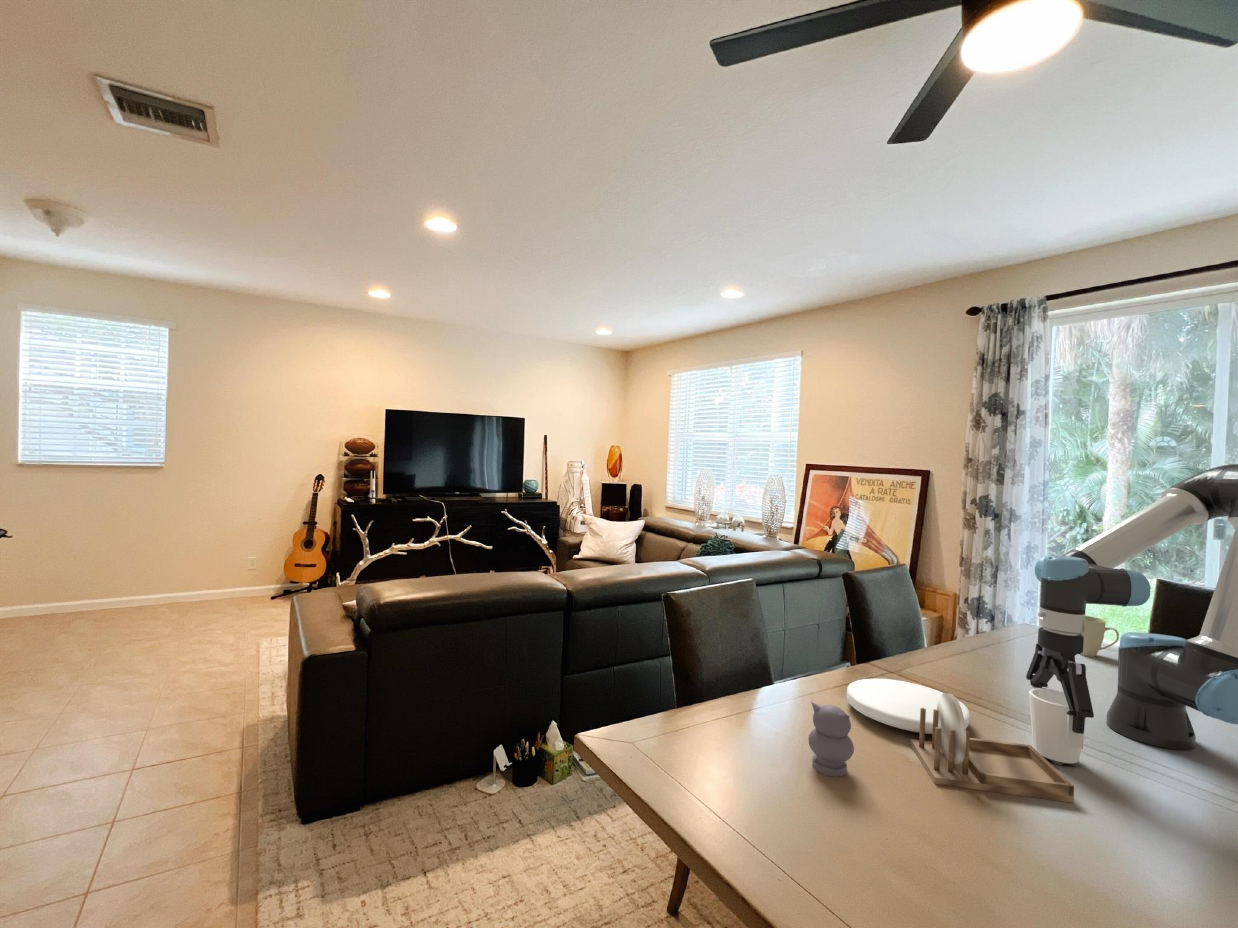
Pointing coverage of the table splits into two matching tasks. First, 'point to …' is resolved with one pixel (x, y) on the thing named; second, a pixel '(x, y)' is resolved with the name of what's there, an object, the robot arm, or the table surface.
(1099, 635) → the mug
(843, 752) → the cat figurine
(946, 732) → the rack
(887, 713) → the plate
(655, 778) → the table surface
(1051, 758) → the cup
